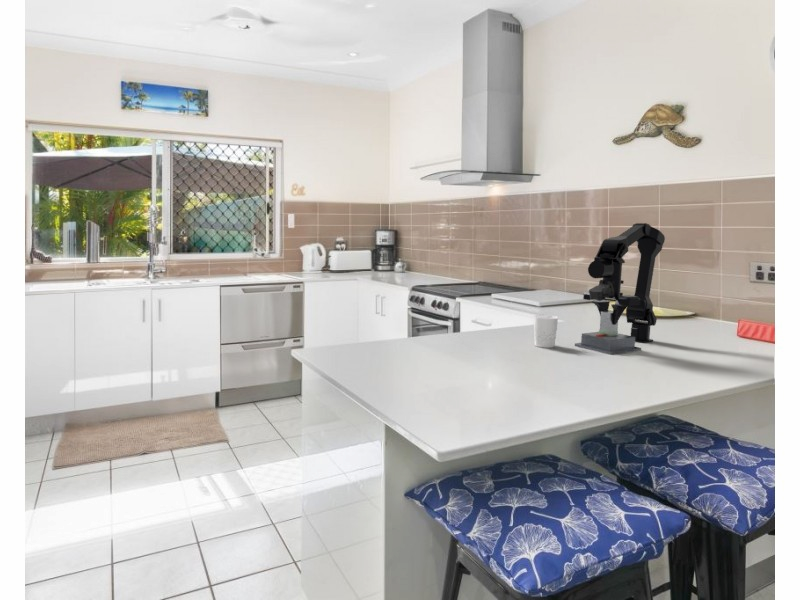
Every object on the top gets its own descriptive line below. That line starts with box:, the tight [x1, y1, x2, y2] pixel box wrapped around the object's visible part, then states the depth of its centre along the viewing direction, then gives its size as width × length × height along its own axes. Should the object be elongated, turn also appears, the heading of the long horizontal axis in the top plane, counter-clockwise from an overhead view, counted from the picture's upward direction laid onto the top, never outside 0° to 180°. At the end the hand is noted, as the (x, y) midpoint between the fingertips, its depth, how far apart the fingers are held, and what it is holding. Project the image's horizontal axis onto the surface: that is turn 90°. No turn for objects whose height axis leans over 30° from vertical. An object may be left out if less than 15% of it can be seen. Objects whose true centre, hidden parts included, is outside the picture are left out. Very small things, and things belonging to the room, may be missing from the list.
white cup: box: [533, 314, 559, 349], centre depth 192 cm, size 8×8×10 cm
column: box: [598, 310, 619, 337], centre depth 189 cm, size 4×4×8 cm
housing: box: [574, 331, 642, 356], centre depth 190 cm, size 15×15×5 cm
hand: (609, 323), depth 189 cm, fingers closed on column, 4 cm apart
